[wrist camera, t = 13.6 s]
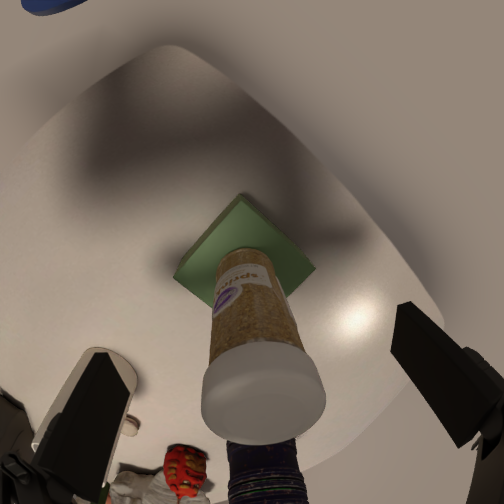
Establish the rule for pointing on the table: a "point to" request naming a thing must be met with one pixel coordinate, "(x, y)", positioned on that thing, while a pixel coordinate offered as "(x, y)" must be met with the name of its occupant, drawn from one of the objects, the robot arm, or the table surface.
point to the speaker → (15, 431)
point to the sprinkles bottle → (257, 358)
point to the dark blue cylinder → (265, 474)
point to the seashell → (147, 490)
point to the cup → (64, 394)
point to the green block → (235, 237)
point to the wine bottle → (102, 498)
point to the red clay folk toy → (184, 471)
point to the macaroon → (130, 427)
